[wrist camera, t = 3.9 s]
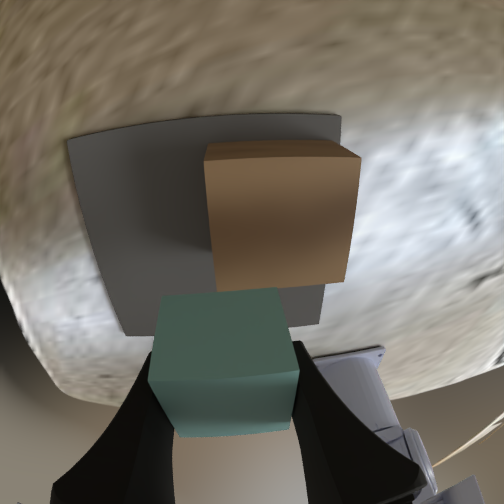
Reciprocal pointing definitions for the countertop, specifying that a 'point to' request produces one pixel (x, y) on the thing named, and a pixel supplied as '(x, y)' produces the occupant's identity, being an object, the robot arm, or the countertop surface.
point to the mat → (171, 208)
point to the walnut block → (280, 212)
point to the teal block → (224, 363)
